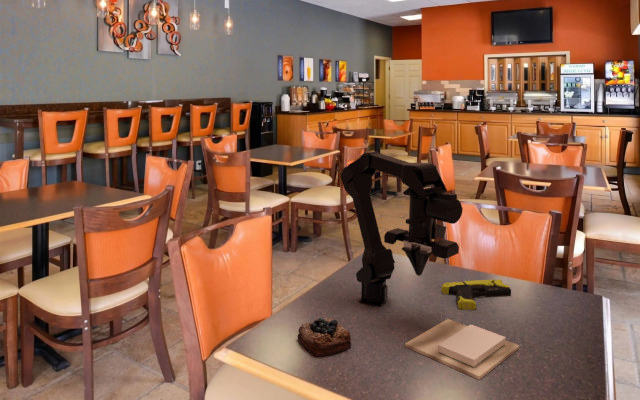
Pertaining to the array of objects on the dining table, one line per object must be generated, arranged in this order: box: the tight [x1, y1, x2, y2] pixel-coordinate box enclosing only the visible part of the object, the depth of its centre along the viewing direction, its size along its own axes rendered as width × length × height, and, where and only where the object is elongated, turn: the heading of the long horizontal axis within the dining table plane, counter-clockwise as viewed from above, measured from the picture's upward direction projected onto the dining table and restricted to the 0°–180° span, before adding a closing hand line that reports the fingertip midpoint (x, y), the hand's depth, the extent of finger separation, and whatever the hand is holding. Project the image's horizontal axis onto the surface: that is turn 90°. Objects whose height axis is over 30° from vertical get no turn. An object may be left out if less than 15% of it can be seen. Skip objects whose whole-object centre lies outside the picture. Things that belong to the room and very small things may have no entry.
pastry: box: [297, 317, 352, 358], centre depth 119 cm, size 11×12×6 cm
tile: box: [438, 324, 507, 367], centre depth 114 cm, size 2×14×9 cm
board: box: [404, 318, 520, 381], centre depth 116 cm, size 19×18×1 cm
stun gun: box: [440, 279, 512, 311], centre depth 143 cm, size 3×19×15 cm
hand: (419, 275), depth 126 cm, fingers closed
